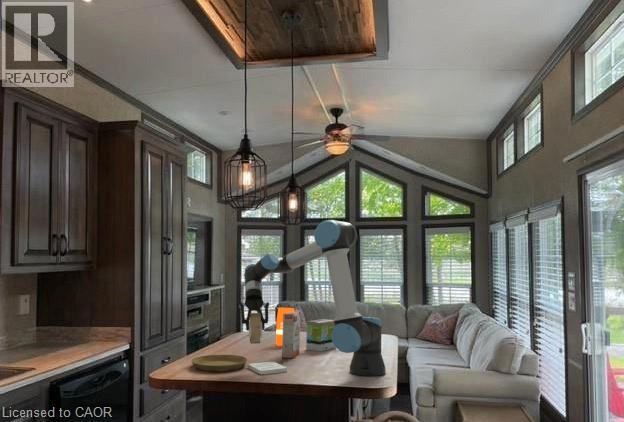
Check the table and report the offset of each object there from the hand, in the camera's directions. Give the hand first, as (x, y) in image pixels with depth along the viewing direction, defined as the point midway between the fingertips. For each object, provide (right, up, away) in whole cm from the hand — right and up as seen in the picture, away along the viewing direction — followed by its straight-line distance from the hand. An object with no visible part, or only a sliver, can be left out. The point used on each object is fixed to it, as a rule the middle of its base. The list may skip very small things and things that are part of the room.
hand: (255, 335), depth 206 cm
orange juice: (+9, -21, +63) cm, 67 cm away
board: (+4, -15, +3) cm, 16 cm away
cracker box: (+13, -19, +34) cm, 41 cm away
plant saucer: (-17, -16, +9) cm, 25 cm away
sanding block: (-1, -4, +3) cm, 5 cm away
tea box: (+29, -21, +53) cm, 64 cm away
